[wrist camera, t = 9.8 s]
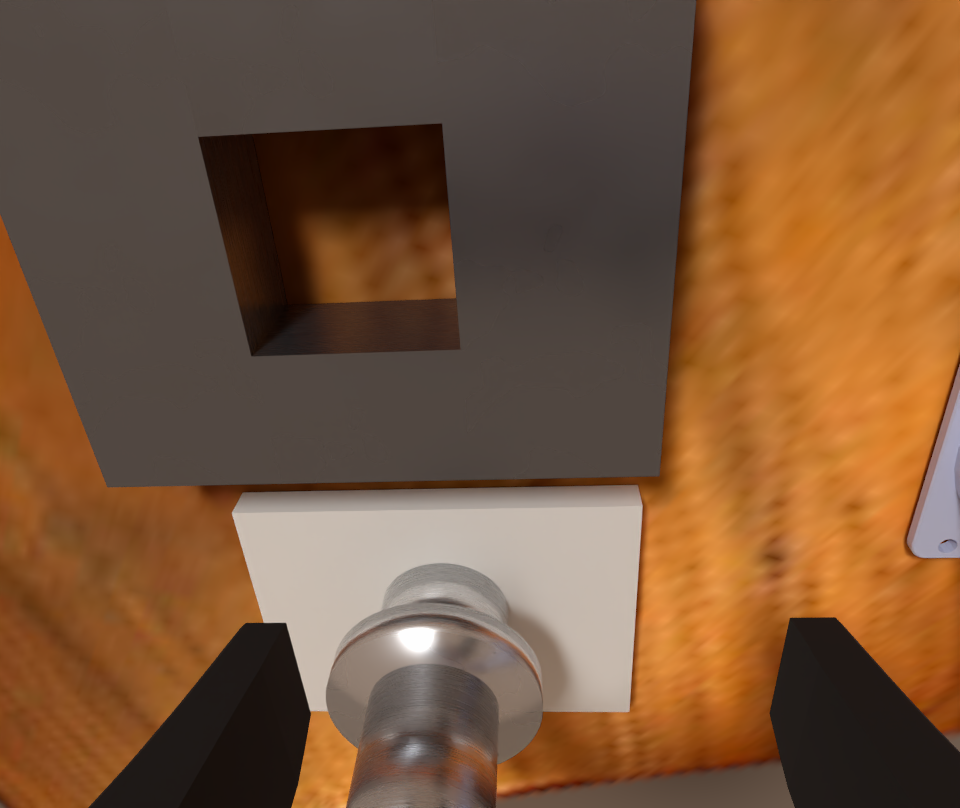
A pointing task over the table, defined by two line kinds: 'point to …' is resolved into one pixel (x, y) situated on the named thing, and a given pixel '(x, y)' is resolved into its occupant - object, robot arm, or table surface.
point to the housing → (360, 325)
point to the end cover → (434, 692)
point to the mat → (467, 542)
